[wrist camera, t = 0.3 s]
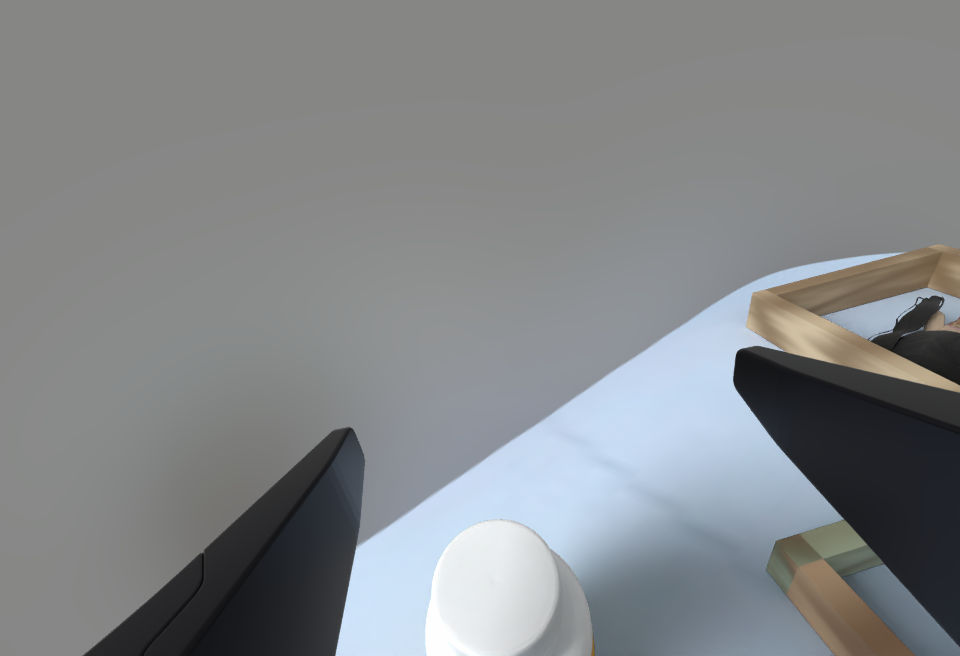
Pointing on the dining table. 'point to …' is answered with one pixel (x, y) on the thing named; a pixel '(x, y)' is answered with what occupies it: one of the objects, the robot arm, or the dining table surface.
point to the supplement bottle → (506, 597)
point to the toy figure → (926, 339)
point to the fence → (799, 305)
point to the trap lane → (833, 589)
